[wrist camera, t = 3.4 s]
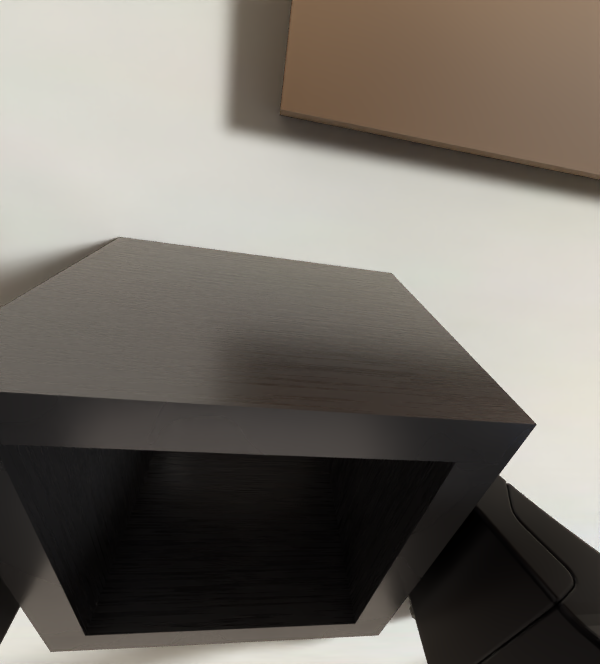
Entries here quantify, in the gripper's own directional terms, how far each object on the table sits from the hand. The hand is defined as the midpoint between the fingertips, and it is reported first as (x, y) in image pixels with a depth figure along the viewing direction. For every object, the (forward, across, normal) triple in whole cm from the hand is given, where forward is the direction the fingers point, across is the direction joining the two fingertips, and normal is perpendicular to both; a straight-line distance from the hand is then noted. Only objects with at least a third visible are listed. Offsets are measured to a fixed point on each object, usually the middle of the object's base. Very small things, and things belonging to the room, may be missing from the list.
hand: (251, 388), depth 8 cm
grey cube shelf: (+1, 0, 0) cm, 1 cm away
